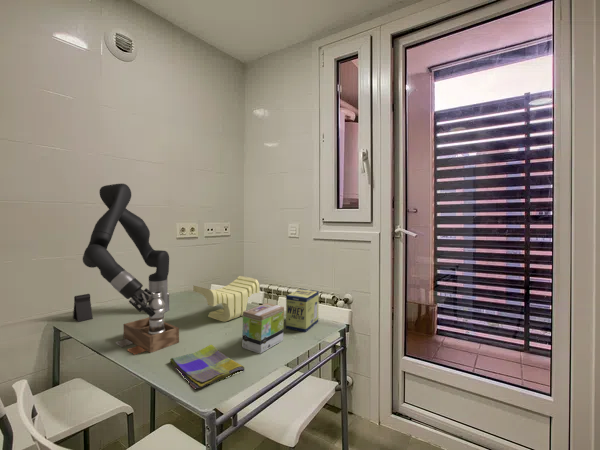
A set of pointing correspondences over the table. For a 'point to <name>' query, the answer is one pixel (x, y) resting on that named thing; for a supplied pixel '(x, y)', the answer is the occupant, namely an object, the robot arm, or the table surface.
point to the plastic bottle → (156, 314)
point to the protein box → (302, 309)
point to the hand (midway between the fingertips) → (157, 311)
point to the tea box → (262, 327)
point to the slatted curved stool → (230, 297)
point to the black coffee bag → (82, 308)
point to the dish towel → (205, 366)
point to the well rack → (148, 337)
